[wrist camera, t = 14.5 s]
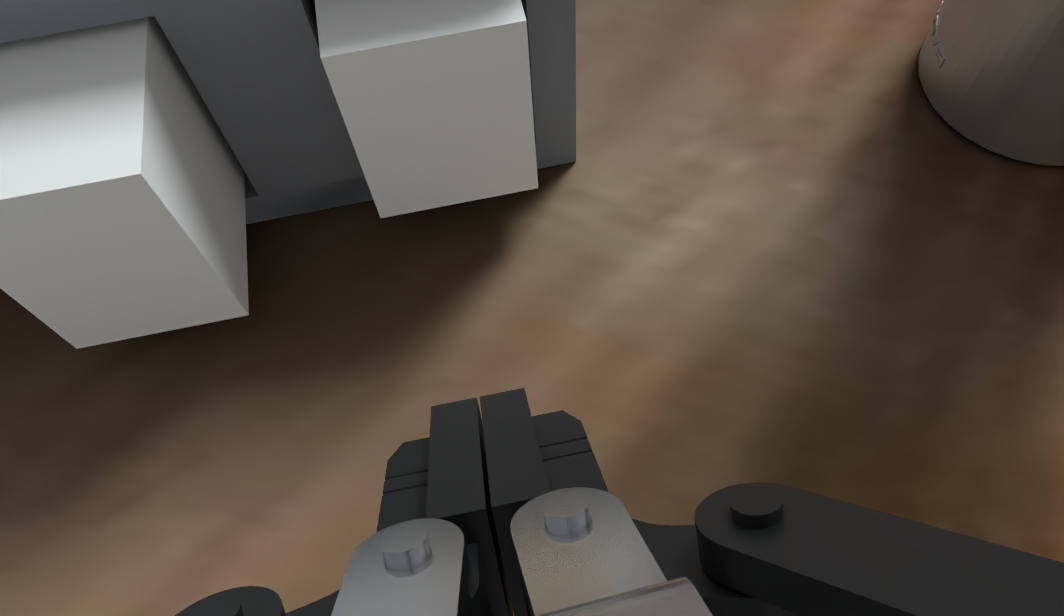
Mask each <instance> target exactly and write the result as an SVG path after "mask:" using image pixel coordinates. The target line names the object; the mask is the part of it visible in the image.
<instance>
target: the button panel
mask: <svg viewBox="0 0 1064 616" xmlns="http://www.w3.org/2000/svg"><path fill="white" fill-rule="evenodd" d="M521 3H522V6H523V10H524V13H525V17H526V21H527V35H528V49H529V63H530V77H531V91H532V106H533V120H534V134H535V148H536V162H537V169H540V168H545V167H550V166H555V165H561V164H566V163H571V162H576V34H575V0H521ZM153 16H155V18H156V20H157V21H158V23H159V25H160V26H161V28H162V30H163V32H164V33H165V35H166V37H167V39H168V40H169V42H170V44H171V45H172V47H173V49H174V51H175V52H176V54H177V56H178V57H179V59H180V61H181V63H182V64H183V66H184V68H185V70H186V71H187V73H188V75H189V76H190V78H191V80H192V82H193V83H194V85H195V87H196V89H197V90H198V92H199V94H200V95H201V97H202V99H203V101H204V102H205V104H206V106H207V107H208V109H209V111H210V113H211V114H212V116H213V118H214V120H215V121H216V123H217V125H218V126H219V128H220V130H221V132H222V133H223V135H224V137H225V139H226V140H227V142H228V144H229V145H230V147H231V149H232V151H233V152H234V154H235V156H236V157H237V159H238V161H239V163H240V164H241V166H242V168H243V170H244V184H245V215H246V224H251V223H256V222H261V221H266V220H272V219H277V218H282V217H287V216H293V215H298V214H303V213H308V212H314V211H319V210H324V209H329V208H335V207H340V206H345V205H351V204H356V203H361V202H366V201H372V200H373V197H372V194H371V192H370V189H369V186H368V184H367V181H366V178H365V176H364V173H363V170H362V168H361V165H360V162H359V160H358V157H357V154H356V151H355V149H354V146H353V143H352V141H351V138H350V135H349V133H348V130H347V127H346V125H345V122H344V119H343V117H342V114H341V111H340V109H339V106H338V103H337V101H336V98H335V95H334V93H333V90H332V87H331V85H330V82H329V79H328V77H327V74H326V71H325V69H324V66H323V63H322V61H321V58H320V48H319V38H318V28H317V18H316V8H315V0H0V43H5V42H11V41H16V40H22V39H28V38H33V37H39V36H45V35H51V34H56V33H62V32H68V31H73V30H79V29H85V28H90V27H96V26H102V25H107V24H113V23H119V22H124V21H130V20H136V19H141V18H147V17H153Z"/></svg>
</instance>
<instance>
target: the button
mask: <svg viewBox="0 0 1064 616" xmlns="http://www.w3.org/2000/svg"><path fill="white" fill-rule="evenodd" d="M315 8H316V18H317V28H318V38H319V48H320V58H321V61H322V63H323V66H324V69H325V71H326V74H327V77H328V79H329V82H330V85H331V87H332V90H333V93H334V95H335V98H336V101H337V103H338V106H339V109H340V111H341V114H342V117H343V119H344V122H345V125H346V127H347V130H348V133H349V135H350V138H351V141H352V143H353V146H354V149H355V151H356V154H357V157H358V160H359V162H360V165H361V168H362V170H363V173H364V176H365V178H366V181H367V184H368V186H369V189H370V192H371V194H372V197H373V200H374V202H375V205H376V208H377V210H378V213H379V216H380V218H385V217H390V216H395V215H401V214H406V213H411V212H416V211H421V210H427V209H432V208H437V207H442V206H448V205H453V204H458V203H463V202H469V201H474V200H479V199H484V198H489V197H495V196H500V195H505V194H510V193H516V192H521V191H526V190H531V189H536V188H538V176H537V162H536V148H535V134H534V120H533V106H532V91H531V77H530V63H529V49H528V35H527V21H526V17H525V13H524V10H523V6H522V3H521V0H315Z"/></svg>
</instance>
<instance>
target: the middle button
mask: <svg viewBox="0 0 1064 616" xmlns="http://www.w3.org/2000/svg"><path fill="white" fill-rule="evenodd" d="M0 289H2V290H3V291H4V292H5V293H7V294H8V295H9V296H11V297H12V298H13V299H14V300H16V301H17V302H18V303H19V304H21V305H22V306H23V307H24V308H26V309H27V310H28V311H29V312H31V313H32V314H33V315H35V316H36V317H37V318H38V319H40V320H41V321H42V322H43V323H45V324H46V325H47V326H48V327H50V328H51V329H52V330H53V331H55V332H56V333H57V334H59V335H60V336H61V337H62V338H64V339H65V340H66V341H67V342H69V343H70V344H71V345H72V346H74V347H75V348H76V349H79V348H84V347H89V346H94V345H99V344H104V343H109V342H114V341H119V340H125V339H130V338H135V337H140V336H145V335H150V334H155V333H160V332H165V331H170V330H176V329H181V328H186V327H191V326H196V325H201V324H206V323H211V322H216V321H222V320H227V319H232V318H237V317H242V316H247V315H249V305H248V275H247V245H246V215H245V184H244V170H243V168H242V166H241V164H240V163H239V161H238V159H237V157H236V156H235V154H234V152H233V151H232V149H231V147H230V145H229V144H228V142H227V140H226V139H225V137H224V135H223V133H222V132H221V130H220V128H219V126H218V125H217V123H216V121H215V120H214V118H213V116H212V114H211V113H210V111H209V109H208V107H207V106H206V104H205V102H204V101H203V99H202V97H201V95H200V94H199V92H198V90H197V89H196V87H195V85H194V83H193V82H192V80H191V78H190V76H189V75H188V73H187V71H186V70H185V68H184V66H183V64H182V63H181V61H180V59H179V57H178V56H177V54H176V52H175V51H174V49H173V47H172V45H171V44H170V42H169V40H168V39H167V37H166V35H165V33H164V32H163V30H162V28H161V26H160V25H159V23H158V21H157V20H156V18H155V16H153V17H147V18H141V19H136V20H130V21H124V22H119V23H113V24H107V25H102V26H96V27H90V28H85V29H79V30H73V31H68V32H62V33H56V34H51V35H45V36H39V37H33V38H28V39H22V40H16V41H11V42H5V43H0Z"/></svg>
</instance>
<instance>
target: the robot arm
mask: <svg viewBox="0 0 1064 616" xmlns="http://www.w3.org/2000/svg"><path fill="white" fill-rule="evenodd" d="M933 21H934V22H933V24H932V26H931V28H930V30H929V32H928V34H927V36H926V38H925V40H924V42H923V45H922V48H921V51H920V54H919V65H918V74H919V77H920V81H921V84H922V87H923V91H924V92H925V94H926V96H927V98H928V99H929V101H930V103H931V104H932V106H933V108H934V109H935V110H936V111H937V112H938V113H939V114H940V115H941V117H942V118H943V119H944V120H945V121H946V122H947V123H948V124H949V125H950V126H952V127H953V128H954V129H956V130H957V131H958V132H959V133H961V134H962V135H963V136H965V137H966V138H967V139H969V140H971V141H973V142H975V143H977V144H979V145H980V146H982V147H984V148H986V149H988V150H990V151H992V152H995V153H998V154H1001V155H1004V156H1006V157H1009V158H1012V159H1015V160H1020V161H1025V162H1029V163H1034V164H1039V165H1056V166H1064V0H943V1H942V3H941V5H940V7H939V9H938V11H937V14H936V16H935V18H934V20H933ZM480 402H481V411H482V419H481V414H480V410H479V405H478V401H477V398H471V399H466V400H461V401H456V402H451V403H446V404H441V405H436V406H432V407H431V424H430V437H429V438H424V439H419V440H414V441H409V442H404V443H403V444H402V445H401V446H400V447H399V448H398V449H397V451H396V452H395V453H394V454H393V455H392V456H391V457H390V459H389V460H388V463H387V469H386V476H385V480H386V481H385V482H384V488H383V496H382V501H381V507H380V514H379V520H378V526H377V533H375V534H373V535H372V536H370V537H369V538H367V539H366V540H365V541H364V542H362V543H361V544H360V545H359V546H358V547H357V548H356V550H355V551H354V552H353V554H352V556H351V558H350V560H349V563H348V566H347V569H346V572H345V575H344V578H343V581H342V584H341V587H340V590H338V591H336V592H334V593H332V594H331V595H329V596H327V597H324V598H322V599H320V600H318V601H315V602H313V603H311V604H308V605H306V606H303V607H301V608H298V609H296V610H294V611H291V612H289V613H286V614H285V611H284V607H283V604H282V601H281V599H280V597H279V595H278V594H277V593H275V592H274V591H272V590H270V589H268V588H264V587H257V586H247V587H238V588H233V589H229V590H225V591H221V592H219V593H216V594H213V595H210V596H208V597H206V598H204V599H201V600H199V601H197V602H196V603H194V604H192V605H190V606H189V607H187V608H186V609H184V610H182V611H181V612H179V613H178V614H177V615H175V616H513V612H514V616H1064V563H1062V562H1058V561H1055V560H1051V559H1047V558H1044V557H1040V556H1037V555H1033V554H1030V553H1026V552H1022V551H1019V550H1015V549H1012V548H1008V547H1004V546H1001V545H997V544H994V543H990V542H986V541H983V540H979V539H976V538H972V537H968V536H965V535H961V534H958V533H954V532H950V531H947V530H943V529H940V528H936V527H933V526H929V525H925V524H922V523H918V522H915V521H911V520H907V519H904V518H900V517H897V516H893V515H889V514H886V513H882V512H879V511H875V510H871V509H868V508H864V507H861V506H857V505H854V504H850V503H846V502H843V501H839V500H836V499H832V498H828V497H825V496H821V495H818V494H814V493H810V492H807V491H803V490H800V489H796V488H792V487H789V486H784V485H780V484H773V483H746V484H739V485H735V486H730V487H727V488H724V489H721V490H719V491H717V492H715V493H713V494H711V495H710V496H708V497H707V498H705V499H704V500H703V501H702V502H701V503H700V504H699V506H698V508H697V509H696V512H695V525H679V526H670V525H656V524H649V523H645V522H641V521H638V520H635V519H632V518H631V517H630V516H629V514H628V512H627V510H626V509H625V507H624V505H623V504H622V502H621V501H620V500H619V499H618V498H617V497H616V496H614V495H613V494H611V493H609V492H608V489H607V487H606V484H605V482H604V479H603V477H602V474H601V471H600V469H599V466H598V464H597V461H596V459H595V456H594V454H593V452H592V449H591V446H590V443H589V441H588V440H587V436H586V433H585V431H584V428H583V426H582V423H581V421H580V420H578V419H576V418H575V417H573V416H571V415H569V414H568V413H566V412H564V411H563V410H562V411H557V412H552V413H547V414H542V415H537V416H532V417H531V413H530V409H529V405H528V401H527V397H526V393H525V389H524V388H521V389H516V390H511V391H506V392H501V393H496V394H491V395H486V396H481V397H480ZM482 421H483V424H482Z"/></svg>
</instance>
